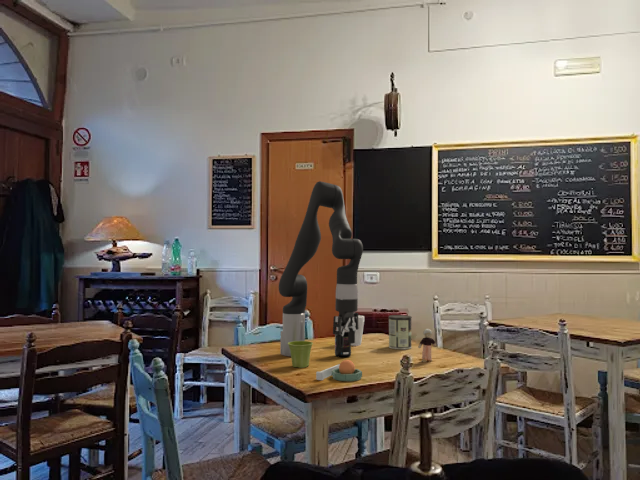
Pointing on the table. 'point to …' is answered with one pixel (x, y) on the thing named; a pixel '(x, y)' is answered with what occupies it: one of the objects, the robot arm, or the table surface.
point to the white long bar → (325, 372)
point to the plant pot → (300, 353)
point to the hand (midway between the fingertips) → (345, 345)
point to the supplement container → (346, 348)
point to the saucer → (346, 375)
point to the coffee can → (400, 332)
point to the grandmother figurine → (427, 346)
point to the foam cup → (358, 331)
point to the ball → (346, 367)
